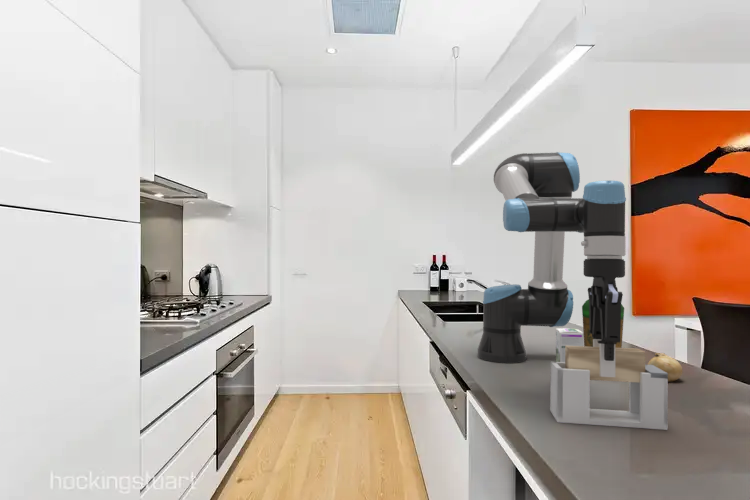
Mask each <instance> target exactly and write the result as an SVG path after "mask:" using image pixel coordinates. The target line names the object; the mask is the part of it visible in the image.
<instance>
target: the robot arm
mask: <svg viewBox="0 0 750 500" xmlns="http://www.w3.org/2000/svg"><path fill="white" fill-rule="evenodd" d="M577 160H578V159H577V158H576V157H575V155H574V154H572V153H571V152H560V151H559V152H558V151H556V152H540V153H539V152H537V153H536V152H533V153H524V152H523V153H517V154H515V155H511V156H509V157H507V158H505V159H504V160H503V161H502V162H500V163H499V164H498V165H497V167H496V168H495V170H494V174H493V183H494V186H495V188H496V190H497V191H499V193H501V194H502V195H503V199H504V200H505V201H504V203H503V207H502V222H503V228H504V229H505V230H506V231H508V232H518V233H524V232H526V233H527V232H531V233H533V232H534V248H533V249H534V253H533V254H534V255H533V256H534V257H533V275H532V276H533V277H532V279H531V280H530V281H528V285H527V288H523V289H522V286H521V285H520V284H502V285H495V286H489V287H487V288H485V290H484V291H483V300H482V304H483V310H482V311H483V313H482V315H483V316H482V317H483V321H482V324H483V325H482V328H483V329H482V330H483V332H482V334H481V338H480V340H479V345H478V348H477V353H476V354H477V358H479V359H481V360H484V361H488V362H494V363H502V364H503V363H504V364H505V363H507V364H511V363H512V364H513V363H522V362H525V361H526V360H527V351H526V348H525V343H524V341H523V337H522V335H521V334H522V333H521V326H527V327H549V328H554V327H555V328H557V327H565V326H566V325H567V324H568V323H569V322H570V321H571V317H572V315H573V311H574V295H573V292H572V291H571V290H569V289H568V285H567V283H566V282H564V280H563V275H564V274H563V273H564V256H565V255H564V254H565V253H564V252H565V232H566V233H567V232H569V233H573V232H576V233H578V234H579V233H580V234H583V241H581V242H580V245H581V246H582V247H583V255H584V256H585V257H586V258H584V260H583V276H585V277H586V278H593V279H592V285H593V286H592V285H591V286H590V287H587V294H588V299H589V333H590V334H592V338H594V339H593V347H599V350H600V364H599V376H601V377H615V344H616V343H617V342H620V329H621V304H622V301H623V296H624V295H623V291H618V287H617V283H616V278H617V279H618V278H624V277H625V276H626V261H625V259H623V257H625V256H626V233H625V232H626V202H627V198H626V190H625V189H626V188H625V185H624V183H623V182H622V181H619V180H598V181H597V180H596V181H591V182H588V183H586V184H585V185H584V188H583V195H582V197H580V198H575V197H574V198H572V196H573V193H575V192H576V191H578V189H579V187H580V183H581V180H580V179H581V178H580V177H581V176H580V168H579V164H578V163H579V162H578V161H577Z"/></svg>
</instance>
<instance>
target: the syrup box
mask: <svg viewBox="0 0 750 500" xmlns="http://www.w3.org/2000/svg"><path fill="white" fill-rule="evenodd" d="M565 346H584V333H583V331H581V330H580V329H578V328H571V327H561V328H560V327H559V328H557V327H555V362H565Z"/></svg>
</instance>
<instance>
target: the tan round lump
mask: <svg viewBox="0 0 750 500" xmlns="http://www.w3.org/2000/svg"><path fill="white" fill-rule="evenodd" d="M654 353H655V354H654V357H652V358H650V360H649V361H648V362H647V365H654V366H655V367H657V368H659V369H661V370H663V371H664V372H666V373H668V383H669V382H670V383H672V382H676V381H677V380H679V379H680V378H681V377H682V375H683V367H682V365H681V363H680V362H679V361H678V360H677V359H675V358H674V357H671V356H669V355H667V354H665V353H664V352H663V353H661V352H654Z"/></svg>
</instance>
